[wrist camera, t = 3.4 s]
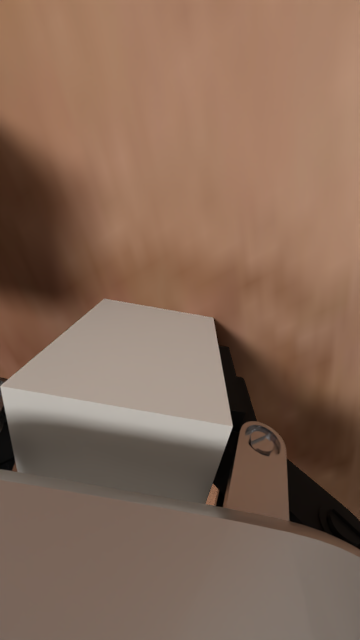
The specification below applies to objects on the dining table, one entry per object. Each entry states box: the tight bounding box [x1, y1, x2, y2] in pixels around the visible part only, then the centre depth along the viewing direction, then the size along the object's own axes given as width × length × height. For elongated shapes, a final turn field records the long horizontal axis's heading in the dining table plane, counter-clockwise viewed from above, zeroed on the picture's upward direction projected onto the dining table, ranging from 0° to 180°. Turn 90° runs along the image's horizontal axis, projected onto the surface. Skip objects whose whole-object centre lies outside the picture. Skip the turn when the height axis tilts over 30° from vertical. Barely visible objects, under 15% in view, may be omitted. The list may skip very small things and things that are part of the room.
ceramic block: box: [0, 299, 233, 504], centre depth 9 cm, size 5×5×6 cm
